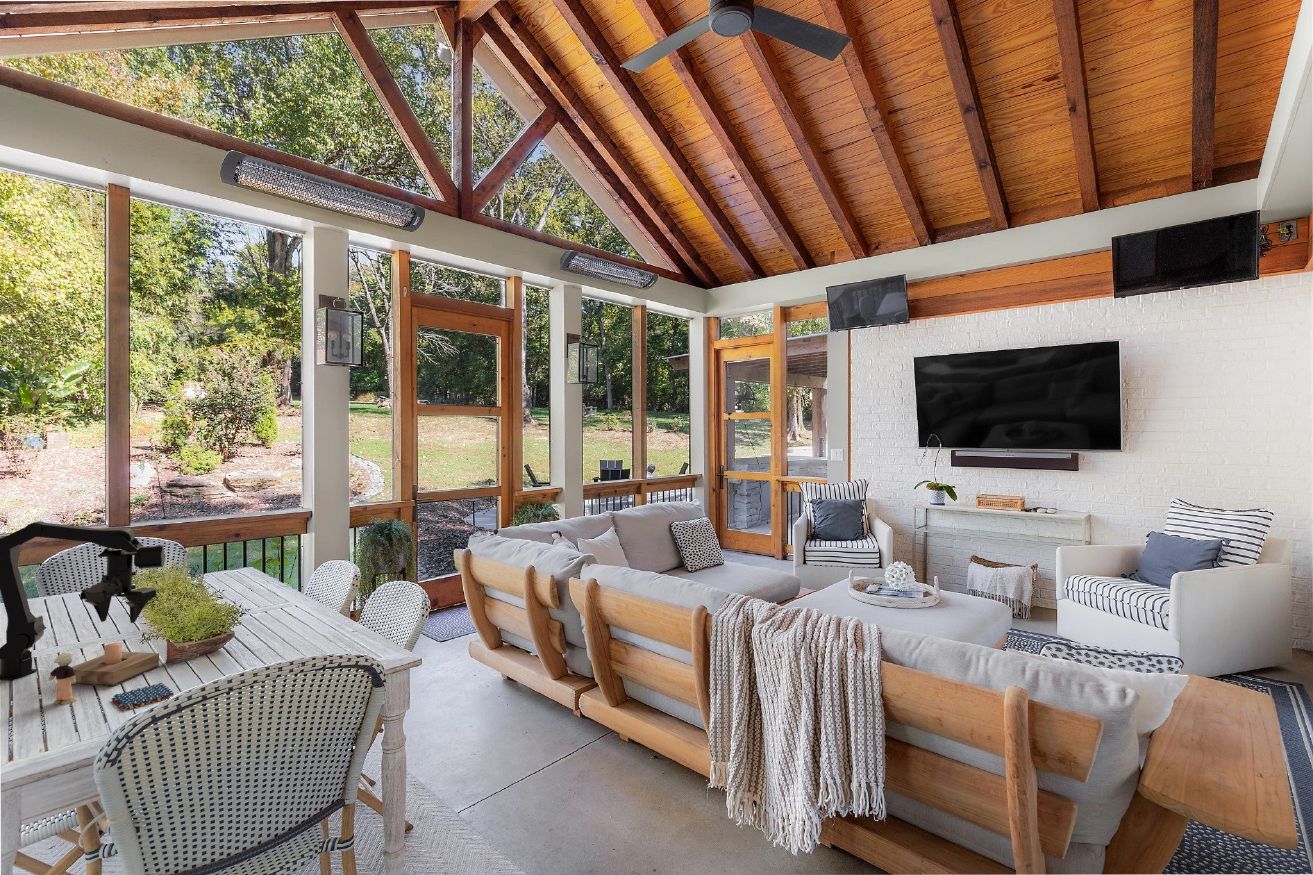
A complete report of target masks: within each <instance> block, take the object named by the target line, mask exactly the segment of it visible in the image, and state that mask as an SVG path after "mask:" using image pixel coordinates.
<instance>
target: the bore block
mask: <svg viewBox="0 0 1313 875" xmlns="http://www.w3.org/2000/svg"><path fill="white" fill-rule="evenodd" d="M71 667H72V668H73V671H74V673H75V680H76V683H74V684H71V686H72V685H73V686H89V687H90V686H93V687H111V688H112V687H116V686H118V685H120V684H123V683H125V682H127V681H129V680H132V679H134V678H137V677H138V676H141V675H144V674H145V673H148V672H151V671H152V670H155V669H157V668H159V667H160V653H159V652H141V651H139V652H137V651H122V662H119V663H117V664H114V665H111V664H104V654H103V655H100V656H97V657H95V658H92V659H90V660H87V661H85V662H81V663H79V664H76V665H73V666H71Z"/></svg>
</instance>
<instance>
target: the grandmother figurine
mask: <svg viewBox="0 0 1313 875" xmlns="http://www.w3.org/2000/svg"><path fill="white" fill-rule="evenodd" d="M72 657H73V653H72V652H71V651H64V652H61V653H60V654H59V655H57V657H55V659H54V660H53V663H54V664H58V666H57V667H55V668H54V669H53V670H52V671H51V672H50V676H49V678H48V680H49V681H53V680H55V679H56V680H57V682H56V686H55V687H56V689H55V700H54V701H53V705H56V704H57V705H58V704H60V705H67V704H73V703H74V702H76V701H77V699H76V697H73V688H72V685H71V684H74V683H76V680H75V673H74V671H73V668H72V667H73V666H70V664H72V662H73V658H72Z"/></svg>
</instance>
